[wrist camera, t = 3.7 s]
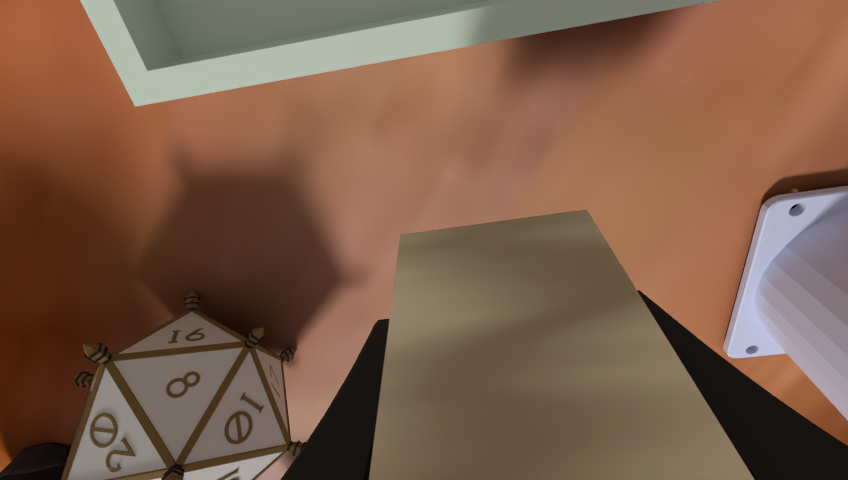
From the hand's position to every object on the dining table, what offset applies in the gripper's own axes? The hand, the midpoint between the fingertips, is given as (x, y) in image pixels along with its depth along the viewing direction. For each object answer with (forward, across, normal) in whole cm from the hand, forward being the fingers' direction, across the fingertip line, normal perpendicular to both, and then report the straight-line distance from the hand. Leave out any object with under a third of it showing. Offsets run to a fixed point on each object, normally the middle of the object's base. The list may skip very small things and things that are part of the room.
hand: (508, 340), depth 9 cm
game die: (+8, +12, +6) cm, 16 cm away
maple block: (+2, 0, 0) cm, 2 cm away
